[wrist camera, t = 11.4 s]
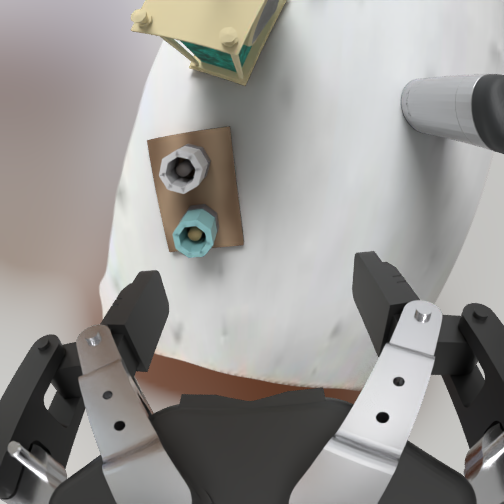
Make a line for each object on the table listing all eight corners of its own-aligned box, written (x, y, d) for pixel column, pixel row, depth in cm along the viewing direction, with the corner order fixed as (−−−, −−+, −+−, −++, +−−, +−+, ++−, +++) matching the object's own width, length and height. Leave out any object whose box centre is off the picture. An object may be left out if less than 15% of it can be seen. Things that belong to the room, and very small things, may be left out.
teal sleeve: (215, 202, 42) (209, 217, 36) (220, 236, 45) (216, 255, 39) (180, 207, 43) (169, 222, 37) (186, 239, 45) (177, 259, 39)
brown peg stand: (229, 126, 39) (225, 128, 33) (243, 241, 47) (242, 260, 41) (150, 139, 39) (134, 144, 33) (171, 247, 47) (161, 267, 41)
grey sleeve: (197, 137, 38) (187, 142, 32) (216, 169, 40) (210, 179, 34) (166, 157, 39) (151, 165, 33) (184, 188, 41) (173, 201, 35)
